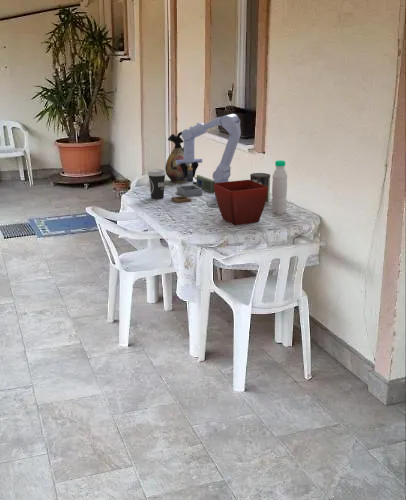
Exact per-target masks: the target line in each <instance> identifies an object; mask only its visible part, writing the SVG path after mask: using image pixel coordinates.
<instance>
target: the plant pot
mask: <svg viewBox="0 0 406 500" xmlns="http://www.w3.org/2000/svg"><path fill="white" fill-rule="evenodd" d="M214 191H215V192H214V196H215V195H216V199H215V200H216V203H217V206H218V210H219V212H220V215H221V218H222V220H224V221H226V222H228V223H229V224H230V225H231V224H232V225H233V226H239V225H241V226H242V225H247V224H256V223H259V222H260V220H261V217H262V214H263V212H264V209H265V205H266V203H265V202H266V198H267V193H268V187H267V186H265V185H262V184H260V183H257V182H255V181H252V180H250V179H241V180H231V181H228V182H221V183H214Z"/></svg>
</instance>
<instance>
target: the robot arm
mask: <svg viewBox="0 0 406 500" xmlns="http://www.w3.org/2000/svg"><path fill="white" fill-rule="evenodd" d="M217 126H220V127H222V128H224V130H226V131H227V133H228V135H229V136H228V139H227V142H226V145H225V148H224V151H223V153H222V157H221V160H220V162H219V164H218V166H217V167H216V169H215V171H213V173H212V180H214V181H215V183H221V182H229V178H230V177H231V169H232V166H231V164H232V161H233V158H234V155H235V153H236V150H237V146H238V143H239V141H240V138H241V135H242V131H241V130H242V129H241V119H240V118H239V116H238V115H237V113H231V114H227V115H223V116H222V115H221V116H218V117H216V118H214V119H212V120H210V121H208V122H205V123H204V122H197V123H196V125H193V126H189V128H185V129H183V130H182V131H183V132H182V131H181V132H182V135H181V139H182V140H183V146H184V160H176V164H177V165H179V164H180V166H181V168H182V171H183V174H184V177H185V178H186V177H187V165H186V164H189V163H191V166H193V178H194V177H195V176H196V173H197V169H198V167H199V164H202V163H203V158H195V139H196V138H197V137H200V136H202V135H205V134H206V133H207V131H208V130H209V129H213V128H215V127H217ZM211 198H213V199H215V200H216V195H215V194H214V195H212V196H211Z"/></svg>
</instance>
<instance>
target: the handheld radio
mask: <svg viewBox="0 0 406 500" xmlns="http://www.w3.org/2000/svg"><path fill="white" fill-rule="evenodd" d="M214 183H215V181H214V179H211V178H208V177H206V176H202V175H201V174H196V181H193V182H192V185H195V186H197V187H199V188H201V189H202V190H205V191H206V192H209V193H213V194H215V191H214Z"/></svg>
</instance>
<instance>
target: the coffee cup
mask: <svg viewBox="0 0 406 500" xmlns="http://www.w3.org/2000/svg"><path fill="white" fill-rule="evenodd" d="M147 176H148V181H149V188H150V189H149V190H150V198H151V200H163V199H164V198H165V196H164V195H165V179H166V176H167V174H166V171H165V170H164V169H162V168H158V169H157V168H154V169H153V168H152V169H150V170H148V172H147Z"/></svg>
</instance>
